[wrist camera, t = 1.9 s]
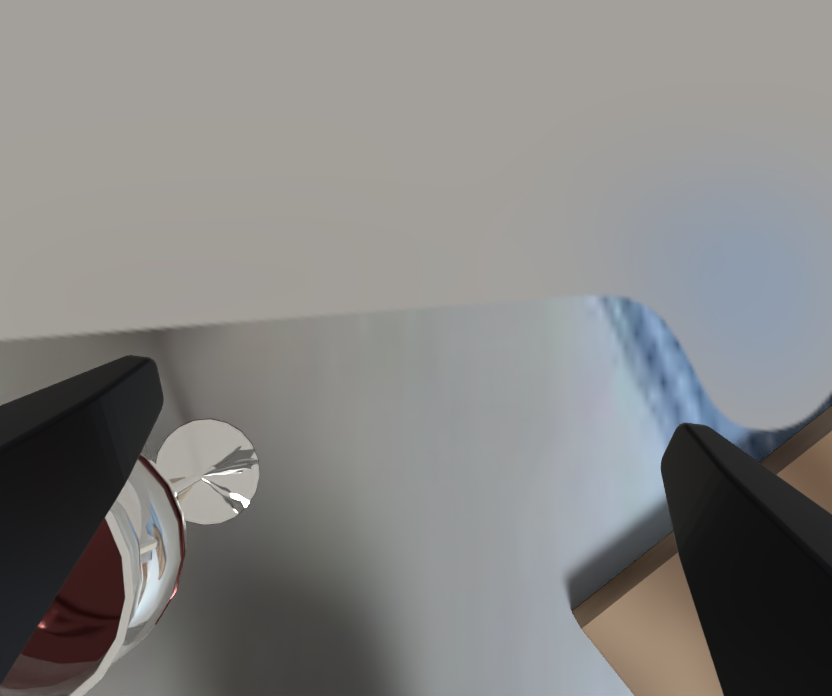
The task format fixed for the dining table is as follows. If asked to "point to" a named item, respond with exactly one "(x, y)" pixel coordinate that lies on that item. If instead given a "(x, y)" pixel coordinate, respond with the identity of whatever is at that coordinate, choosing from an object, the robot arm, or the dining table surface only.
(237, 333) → the dining table surface
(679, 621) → the wooden board
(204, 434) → the wineglass
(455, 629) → the dining table surface
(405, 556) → the dining table surface
